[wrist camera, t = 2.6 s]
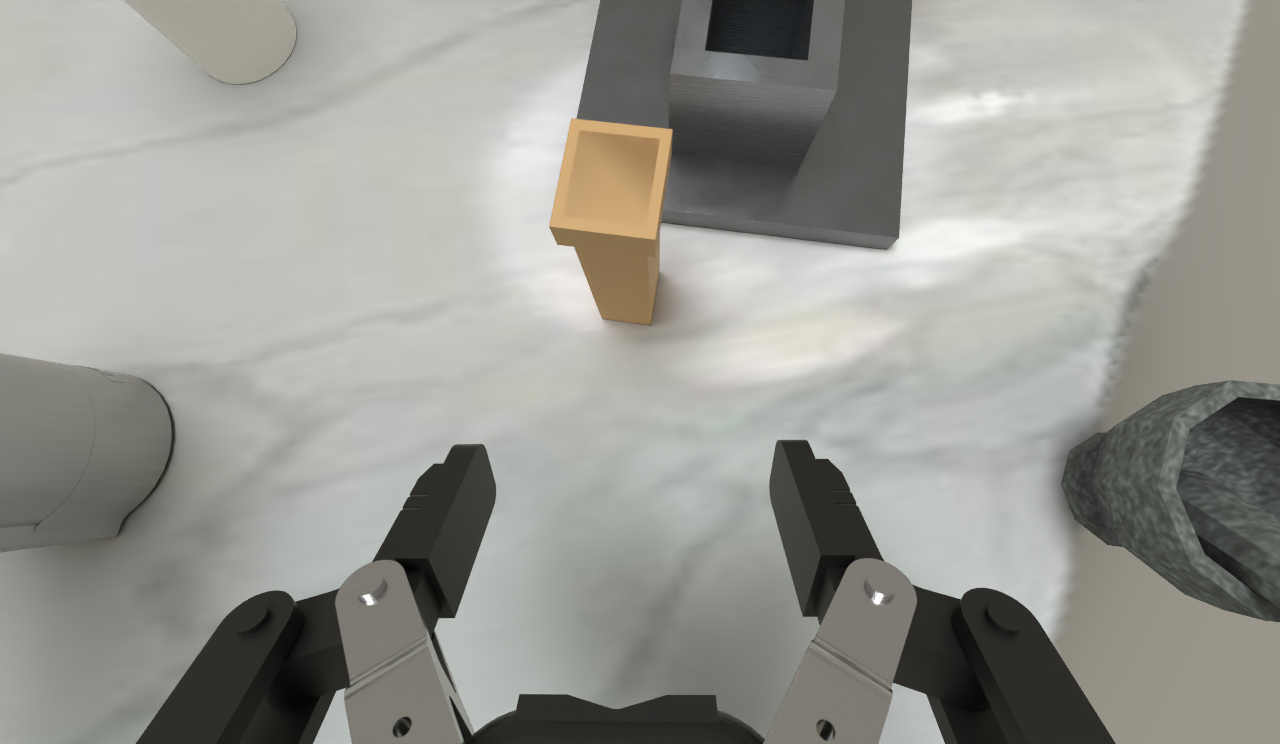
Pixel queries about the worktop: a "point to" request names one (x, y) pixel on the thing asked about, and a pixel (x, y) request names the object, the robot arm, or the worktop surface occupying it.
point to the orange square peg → (614, 212)
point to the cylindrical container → (225, 34)
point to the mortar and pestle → (1192, 492)
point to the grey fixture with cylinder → (764, 109)
